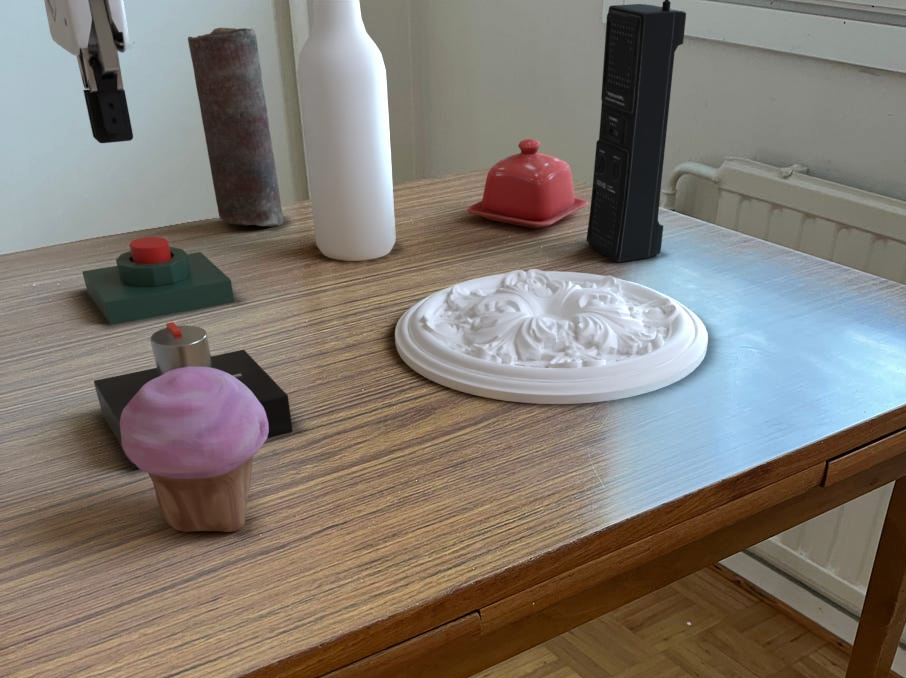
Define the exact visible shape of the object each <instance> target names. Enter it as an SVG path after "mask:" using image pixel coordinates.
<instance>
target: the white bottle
mask: <svg viewBox="0 0 906 678" xmlns="http://www.w3.org/2000/svg"><path fill="white" fill-rule="evenodd" d="M360 3H361V2H360V0H312V25H311V30H310V34H309V36H308V38H307V39H306V41H305V43H304V44H303V46H302V48H301V50H300V53H299V55H298V56H299V57H298V65H297V80H298V81H297V82H298V90H299V91H298V93H299V99H300V100H299V101H300V107H301V108H300V109H301V117H302V118H301V119H302V128H303V137H304V146H305V155H306V165H307V166H306V167H307V172H308V173H307V174H308V183H309V192H310V200H311V201H310V202H311V211H312V220H313V230H314V238H315V239H314V240H315V244H316V247H317V248H318V249H319V251H320V252H321V254H322V255H323V256H325V257H327V258H330V259H333V260H338V261H339V260H340V261H345V262H347V261H348V262H354V261H355V262H359V261H360V262H361V261H368V260H369V261H370V260H374V259H378V258H381V257H384V256H386V255H388V254H389V253H390V252H391V251H392V250H393V248H394V246H395V244H396V241H397V240H396V239H397V237H396V219H395V203H394V186H393V169H392V151H391V136H390V135H391V134H390V118H389V117H390V116H389V102H388V99H389V98H388V84H387V83H388V82H387V70H386V66H385V63H384V58H383V55H382V52H381V50H380V49H379V47H378V46H377V44H376V43H375V42H374V40H373V39H372V37H370V35H369V33H368V32H367V30H366V28H365V24H364V22H363V19H362V12H361V4H360Z"/></svg>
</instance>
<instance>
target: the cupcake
mask: <svg viewBox="0 0 906 678" xmlns="http://www.w3.org/2000/svg"><path fill="white" fill-rule="evenodd" d="M120 431H121V443H122V447H123V449H124V451H123V453H124V452H125V453H124V454H125V456H126V455H127V456H126V458H127V457H128V458H129V459H130V460H131V461H132V462H133V463H134V464H135V465H136V466H137V467H138V468H139V469H138V470H141V471H143V472H146V473H147V474H148V475H149V477H150V480H151V482H152V485H153V488H154V491H155V497H156V499H157V503H158V506H159V509H160V512H161V515H162V517H163V519H164V521H165V522H166V523H167V524H168V525H169V526H170V527H171V528H173V529H174V530H177V531H180V532H222V533H223V532H224V533H230V532H232V533H233V532H236V531H239V530H241V529H242V528H243V527H244V525H245V523H246V511H247V504H248V497H249V492H250V489H251V483H252V475H253V474H252V473H253V461H254V460H253V459H254V456H255V455H256V454H257V453H258V452H259V450H261V448H262V447H263V445H264V444H265V442H266V440H267V439H268V438H267V437H268V432H269V426H268V419H267V416H266V412H265V410H264V408H263V406H262V405H261V403H260V402H259V401H258V399H257V398H256V397H255V395H254V394H253V393H252V391H251V390H250V389H249V388H248V387H247V386H245V385H244V384H243V383H242V382H240V381H239V380H238V379H237V378H235V377H234V376H232V375H230V374H228V373H226V372H224V371H221V370H218V369H214V368H210V367H184V368H179V369H174V370H171V371H169V372H166V373H165V374H163V375H161V376H159V377H157V378H155V379H152V380H151V381H149V382H147V383H146V384H144V385H143V386H142V387H141V389H140V390H139V392H138V393H137V394H136V395H135V396H134V397H133V398H132V399H131V401H130V402H129V403H128V404H127V405H126V407H125V408H124V409H123V411H122V414H121V418H120ZM123 449H122V450H123ZM128 458H127V459H128ZM129 459H128V460H129Z"/></svg>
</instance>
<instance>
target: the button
mask: <svg viewBox="0 0 906 678" xmlns="http://www.w3.org/2000/svg"><path fill="white" fill-rule="evenodd" d="M169 246H170V243H169V240H168V239H167V238H165V237H161V236H145V237H140V238H139V237H138V238H136V239H133V240H132V241H130V242H129V249H130V250H129V251H131V254H132V259H133V262H134V263H138V264H154V263H160V262H164V261H167V260H169V259H171V254H170V249H169Z"/></svg>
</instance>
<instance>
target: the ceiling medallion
mask: <svg viewBox="0 0 906 678" xmlns="http://www.w3.org/2000/svg"><path fill="white" fill-rule="evenodd" d="M394 340H395V348H396V351H397V354H398V355H399V357H400V358H401V360H402V361H403V362H404V363H405V364H406V365H407V366H408V367H409V368H410V369H412V370H413V371H414V372H416V373H417V374H419V375H421V376H422V377H424V378H426V379H428V380H429V381H432V382H434V383H436V384H439V385H441V386H444V387H446V388H449V389H451V390H455V391H458V392H462V393H464V394H469V395H473V396H478V397H483V398H487V399H493V400H499V401H506V402H513V403H514V402H515V403H523V404H537V405H575V404H576V405H579V404H591V403H601V402H610V401H616V400H622V399H627V398H632V397H636V396H639V395H644V394H647V393H651V392H654V391H658V390H660V389H662V388H665V387H668V386H670V385H673V384H674V383H677V382H678V381H680V380H683V379H684V378H685V377H687V376H689V375H690V374H691V373H692V372H694V370H696V369H697V368H698V367H699V366H700V365H701V364H702V362H703V360H704V358H705V356H706V354H707V350H708V342H709V335H708V331H707V328H706V325H704V323H703V321H702V320H701V319H700V318H699V316H697V315H696V314H695V313H694V312H693V311H692V310H691V309H689V308H688V307H686V306H685V305H684V304H683V303H681V302H679V301H677V300H676V299H674V298H673V297H670V296H668V295H666V294H664V293H661V292H660V291H658V290H655V289H652V288H650V287H648V286H645V285H643V284H640V283H636V282H632V281H629V280H625V279H621V278H618V277H614V276H613V275H609V274H608V275H601V274H594V273H586V272H578V271H577V272H575V271H562V270H561V271H558V270H557V271H556V270H541V269H537V268H530V269H528V270H527V271H524V270H522V269H515V270H512V271H510V272H507V273H499V274H492V275H487V276H482V277H477V278H473V279H469V280H465V281H462V282H458V283H456V284H453V285H449V286H447V287H446V288H442V289H441V290H438V291H436V292H433V293H432V294H429V295H428V296H426V297H424V298H422V299H420V300H419V301H418V302H417V303H415V304H413V305H412V306H411V307H409V308H408V309H407V310H406V311H405V312H404V313H403V314H402V315H401V316H400V317H399V319H398V321H397V322H396V325H395V331H394Z"/></svg>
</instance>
